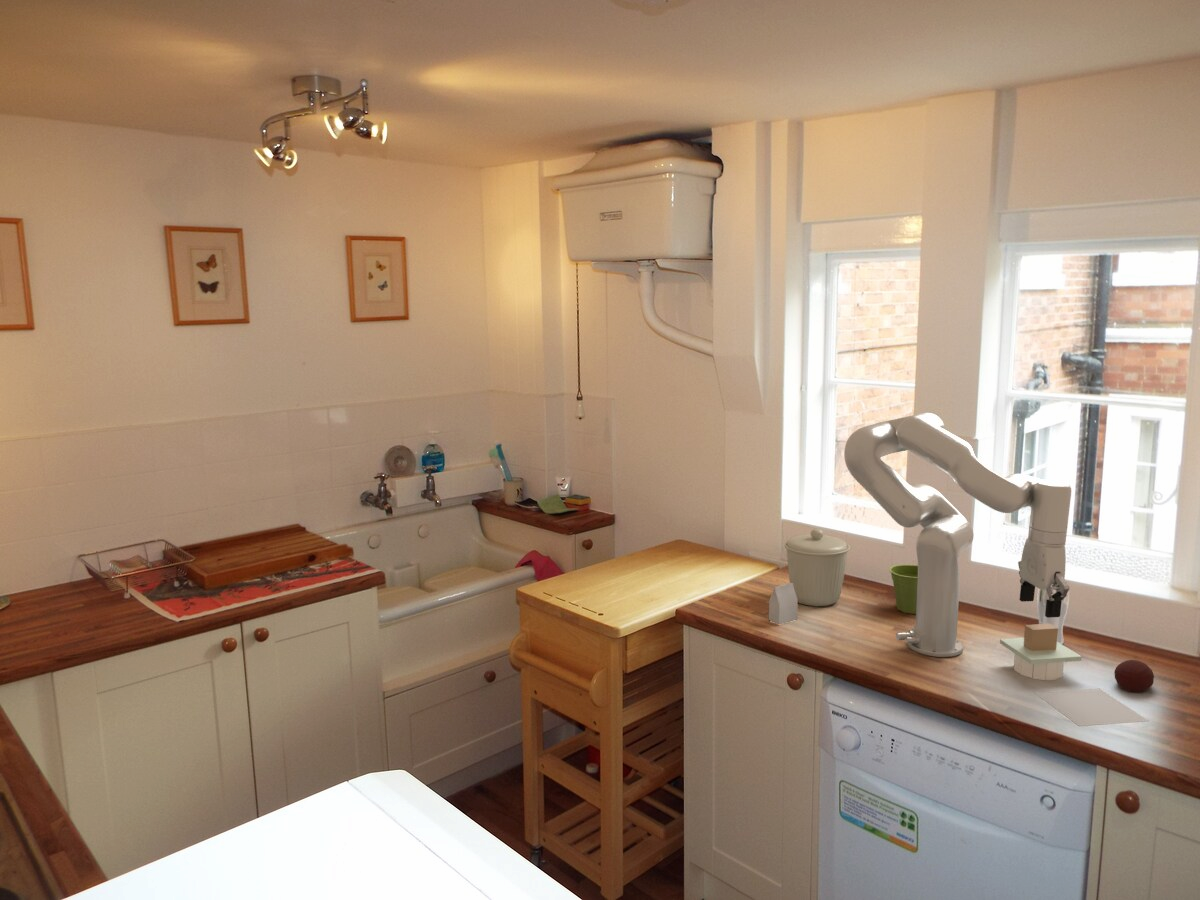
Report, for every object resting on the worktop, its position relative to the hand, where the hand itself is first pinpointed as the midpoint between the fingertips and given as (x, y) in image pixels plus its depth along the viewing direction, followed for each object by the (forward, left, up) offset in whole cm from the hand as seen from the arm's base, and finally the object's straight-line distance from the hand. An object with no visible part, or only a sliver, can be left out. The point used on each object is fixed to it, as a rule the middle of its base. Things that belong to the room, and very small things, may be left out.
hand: (1039, 608), depth 199 cm
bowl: (0, -1, -15) cm, 15 cm away
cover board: (+1, 0, -10) cm, 10 cm away
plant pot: (-10, +42, -15) cm, 46 cm away
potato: (+16, -11, -15) cm, 25 cm away
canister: (-33, +53, -15) cm, 64 cm away
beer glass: (+14, +16, -15) cm, 27 cm away
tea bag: (-47, +39, -15) cm, 63 cm away
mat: (0, -19, -15) cm, 24 cm away
